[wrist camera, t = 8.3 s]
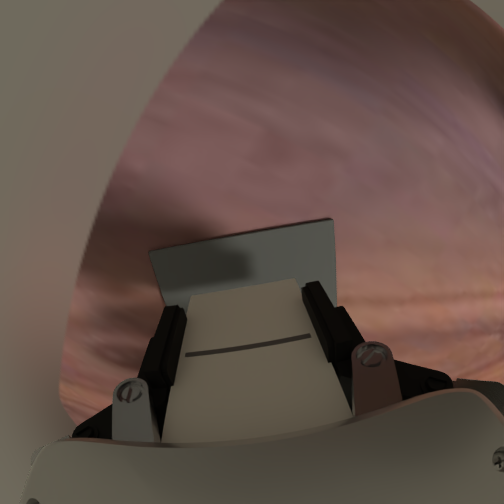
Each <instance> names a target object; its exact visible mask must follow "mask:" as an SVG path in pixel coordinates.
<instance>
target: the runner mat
mask: <svg viewBox="0 0 504 504" xmlns="http://www.w3.org/2000/svg"><path fill="white" fill-rule="evenodd" d="M148 253H149V256H150V260H151V263H152V266H153V269H154V272H155V275H156V278H157V281H158V284H159V287H160V290H161V293H162V296H163V298H164V301H165V304H166V306H173V305H178V306H179V307H180V308H182V307H183V308H184V311H185V314H186V315H187V310H188V306H189V302H190V298H191V296H193V295H199V294H206V293H212V292H218V291H224V290H230V289H236V288H242V287H248V286H254V285H259V284H265V283H271V282H276V281H282V280H287V279H292V278H295V280H296V282H297V284H298V286H299V289H300V291H301V287H305V284H306V283H308V282H313V281H319V282H320V283H321V285H322V287H323V289H324V290H325V292H326V294H327V295H328V297H329V299H330V300H331V302H332V304H333V306H334V307H337V290H336V256H335V236H334V221H333V219H328V220H322V221H316V222H310V223H304V224H298V225H292V226H286V227H280V228H274V229H268V230H262V231H256V232H250V233H245V234H239V235H233V236H228V237H222V238H217V239H211V240H206V241H200V242H195V243H189V244H184V245H179V246H173V247H168V248H163V249H158V250H153V251H149V252H148ZM301 293H302V292H301Z"/></svg>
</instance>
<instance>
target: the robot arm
mask: <svg viewBox="0 0 504 504" xmlns="http://www.w3.org/2000/svg"><path fill="white" fill-rule="evenodd" d="M301 292H302V301H303V303H304V306H305V308H306V310H307V313H308V315H309V317H310V320H311V322H312V325H313V327H314V329H315V332H316V334H317V337H318V339H319V342H320V344H321V346H322V349H323V351H324V354H325V356H326V359H327V361H328V363H330V362H331V363H332V365H333V368H334V370H335V373H336V375H337V378H338V380H339V382H340V385H341V387H342V390H343V392H344V395H345V397H346V400H347V402H348V405H349V407H350V410H351V412H352V415H353V417H352V418H348V419H345V420H341V421H338V422H334V423H330V424H326V425H322V426H318V427H313V428H309V429H304V430H299V431H294V432H289V433H283V434H277V435H271V436H264V437H257V438H249V439H240V440H230V441H216V442H195V443H161V439H162V433H163V427H164V422H165V416H166V410H167V405H168V399H169V394H170V389H171V386H174V382H175V377H176V372H177V367H178V362H179V357H180V352H181V347H182V342H183V338H184V333H185V328H186V324H187V316H186V314H185V311H184V308H183V307H182V308H180V307H179V306H178V305H173V306H166V307H165V308H164V310H163V313H162V316H161V319H160V321H159V324H158V327H157V330H156V333H155V336H154V337H152V338H151V339H150V342H149V344H148V347H147V350H146V353H145V356H144V359H143V362H142V365H141V368H140V371H139V374H138V377H137V378H129V379H126V380H124V381H122V382H121V383H120V384H118V385H117V386H116V388H115V390H114V392H113V404H111V405H110V406H108V407H107V408H105V409H104V410H102V411H100V412H99V413H97V414H96V415H94V416H93V417H91V418H89V419H88V420H86V421H85V422H83V423H81V424H80V425H79V426H77V427H76V429H75V430H74V432H73V434H72V437H70V436H69V435H68V436H66V437H63V438H61V439H59V440H57V441H54V442H52V443H49V444H47V445H46V446H43V447H41V448H39V449H37V450H36V451H35V452H34V453H33V455H32V457H31V465H32V467H31V469H30V472H29V474H28V477H27V480H26V483H25V486H24V489H23V492H22V496H21V500H20V504H504V385H503V384H501V383H499V382H493V381H480V380H469V379H460V378H457V379H456V381H452V380H451V378H450V377H449V376H448V375H447V374H445V373H443V372H440V371H437V370H432V369H428V368H424V367H420V366H416V365H412V364H408V363H405V362H401V361H397V360H394V359H393V355H392V352H391V350H390V348H389V347H388V346H387V345H385V344H383V343H380V342H376V341H369V342H365V340H364V339H363V337H362V336H361V334H360V332H359V331H358V329H357V327H356V326H355V324H354V322H353V321H352V319H351V318H350V316H349V314H348V313H347V311H346V310H345V308H344V307H343V306H339V307H334V306H333V304H332V302H331V300H330V299H329V297H328V295H327V294H326V292H325V290H324V289H323V287H322V285H321V283H320V282H319V281H313V282H308V283H306V284H305V287H301Z"/></svg>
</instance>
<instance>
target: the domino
mask: <svg viewBox="0 0 504 504" xmlns="http://www.w3.org/2000/svg"><path fill="white" fill-rule="evenodd" d="M186 316H187V324H186V328H185V333H184V338H183V342H182V347H181V352H180V357H179V362H178V367H177V372H176V377H175V382H174V386H171V389H170V394H169V399H168V405H167V410H166V416H165V422H164V427H163V433H162V439H161V443H195V442H216V441H230V440H240V439H249V438H257V437H264V436H271V435H277V434H283V433H289V432H294V431H299V430H304V429H309V428H313V427H318V426H322V425H326V424H330V423H334V422H338V421H341V420H345V419H348V418H352V417H353V415H352V412H351V410H350V407H349V405H348V402H347V400H346V397H345V395H344V392H343V390H342V387H341V385H340V382H339V380H338V378H337V375H336V373H335V370H334V368H333V365H332V363H331V362H330V363H328V361H327V359H326V356H325V354H324V351H323V349H322V346H321V344H320V342H319V339H318V337H317V334H316V332H315V329H314V327H313V325H312V322H311V320H310V317H309V315H308V313H307V310H306V308H305V306H304V303H303V301H302V293H301V291H300V289H299V286H298V284H297V282H296V280H295V278H292V279H287V280H282V281H276V282H271V283H265V284H259V285H254V286H248V287H242V288H236V289H230V290H224V291H218V292H212V293H206V294H199V295H193V296H191V298H190V302H189V306H188V310H187V315H186Z"/></svg>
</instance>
